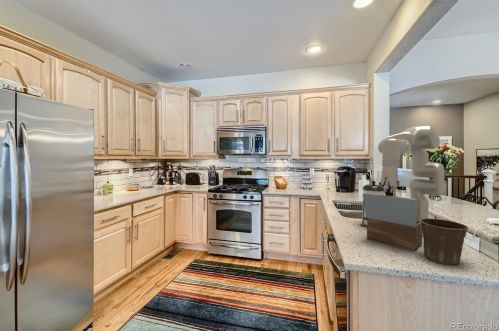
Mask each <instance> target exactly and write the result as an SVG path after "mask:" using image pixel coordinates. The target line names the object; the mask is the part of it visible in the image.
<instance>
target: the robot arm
mask: <svg viewBox="0 0 499 331" xmlns="http://www.w3.org/2000/svg"><path fill="white" fill-rule="evenodd" d="M440 145H441V139H440V136H439V134H438V132H437V131H436V129H435V128H434V127H433V126H432V125H415V126H411V127H407V128H406V129H404V131H402V132H400V133H396V134H393V135H390V136H386V137H384V138H382V139H381V140H380V141H379V143H378V148H377V149H378V152H379V153H380V154H382V155H381V156H382V158H381V167H382V169H381V177H380V178H381V179H380V185H381V186H383V187H384V189H385V191H384V193H385V195H387V196H395V187H396V186H397V185H398V180H399V179H398V178H399V174H398V173H399V171H398V168H400V166H401V165H400V163H401V162H400V159H401V155H404V154H408V153H409V152H410V155H411V173H412V175H413V176H414V177H416V178H415V179H414V178H413V179H412V180H410V182H409V185H408V186H409V192H410V194H409V195H410V198H412V199H416V215H417V221H420V220H421V219H425V218H429V208H430V206H429V199H428V198H427V196H426V195H429V196H436V197H437V196H438V197H439V196H442V195H443V194H444V192H445V167H444V165H443V164H442V163H440V162H433V161H432V162H430V161H429V160H430V158H429V156H430V155H429V153H428V152H427V150H436V149H438V148H439V147H440ZM425 178H426V179H425ZM428 178H430V179H428ZM431 178H432V179H431Z"/></svg>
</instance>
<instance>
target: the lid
mask: <svg viewBox="0 0 499 331" xmlns="http://www.w3.org/2000/svg"><path fill="white" fill-rule="evenodd" d="M364 202H365V213H366V218H371V219H376V220H382V221H387V222H392V223H397V224H402V225H408V226H413V227H417V215H416V199H412V198H411V197H404V196H403V197H401V196H395V195H394V196H387V195H386V194H384V195H378V194H369V193H364Z"/></svg>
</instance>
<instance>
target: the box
mask: <svg viewBox="0 0 499 331" xmlns="http://www.w3.org/2000/svg"><path fill="white" fill-rule="evenodd" d="M366 240H369V241H373V242H375V243H380V244H385V245H389V246H392V247H396V248H400V249H404V250H408V251H411V252H416V251H417V250H418V249H419V248H420V247H422V246H423V230H422V225H421V222H420V221H417V227H413V226H408V225H402V224H397V223H392V222H387V221H382V220H376V219H371V218H367V225H366Z"/></svg>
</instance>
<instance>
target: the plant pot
mask: <svg viewBox="0 0 499 331" xmlns="http://www.w3.org/2000/svg"><path fill="white" fill-rule="evenodd" d="M420 222H421V225H422V230H423V238H422V242H423V254H424V257H425V258H427V259H430V261H431V262H435V263H439V264H441V263H442V264H441V265H450V266H453V265H459V264H460V262H461V257H462V252H463V246H464V241H465V238H466V236H467V230H468V229H469V226H468V225H466V224H463V223H460V222H457V221H453V220H452V221H451V220H448V219H447V220H446V219H441V218H440V219H439V218H430V217H428V218H425V219H421V220H420Z"/></svg>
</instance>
